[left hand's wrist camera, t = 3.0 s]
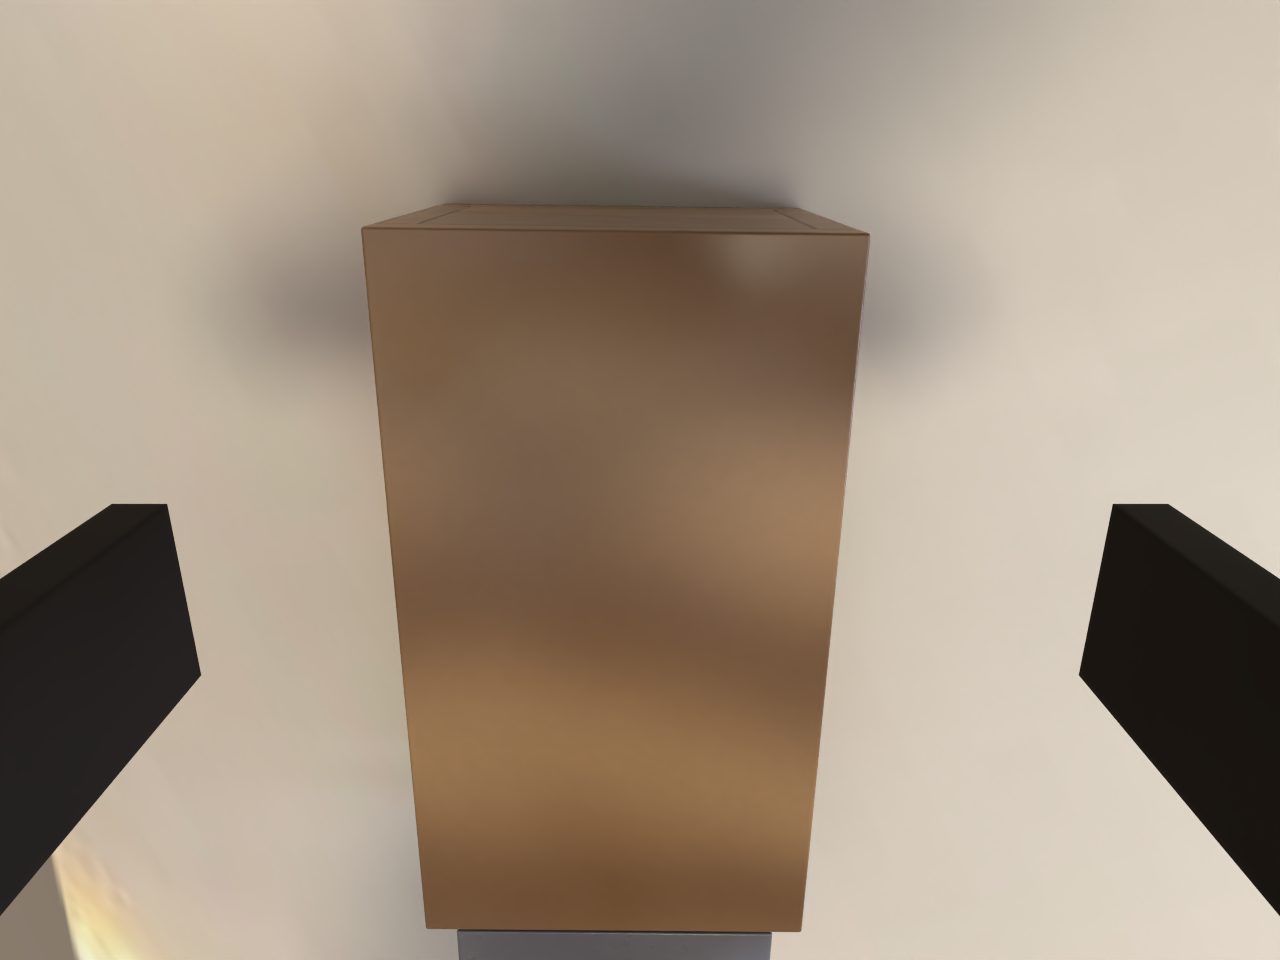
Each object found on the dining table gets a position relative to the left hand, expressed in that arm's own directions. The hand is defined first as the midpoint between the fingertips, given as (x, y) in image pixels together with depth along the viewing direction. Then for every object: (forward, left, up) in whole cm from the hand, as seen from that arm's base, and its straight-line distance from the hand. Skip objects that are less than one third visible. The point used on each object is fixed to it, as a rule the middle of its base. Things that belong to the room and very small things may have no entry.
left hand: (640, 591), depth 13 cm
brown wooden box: (+5, -1, -16) cm, 16 cm away
